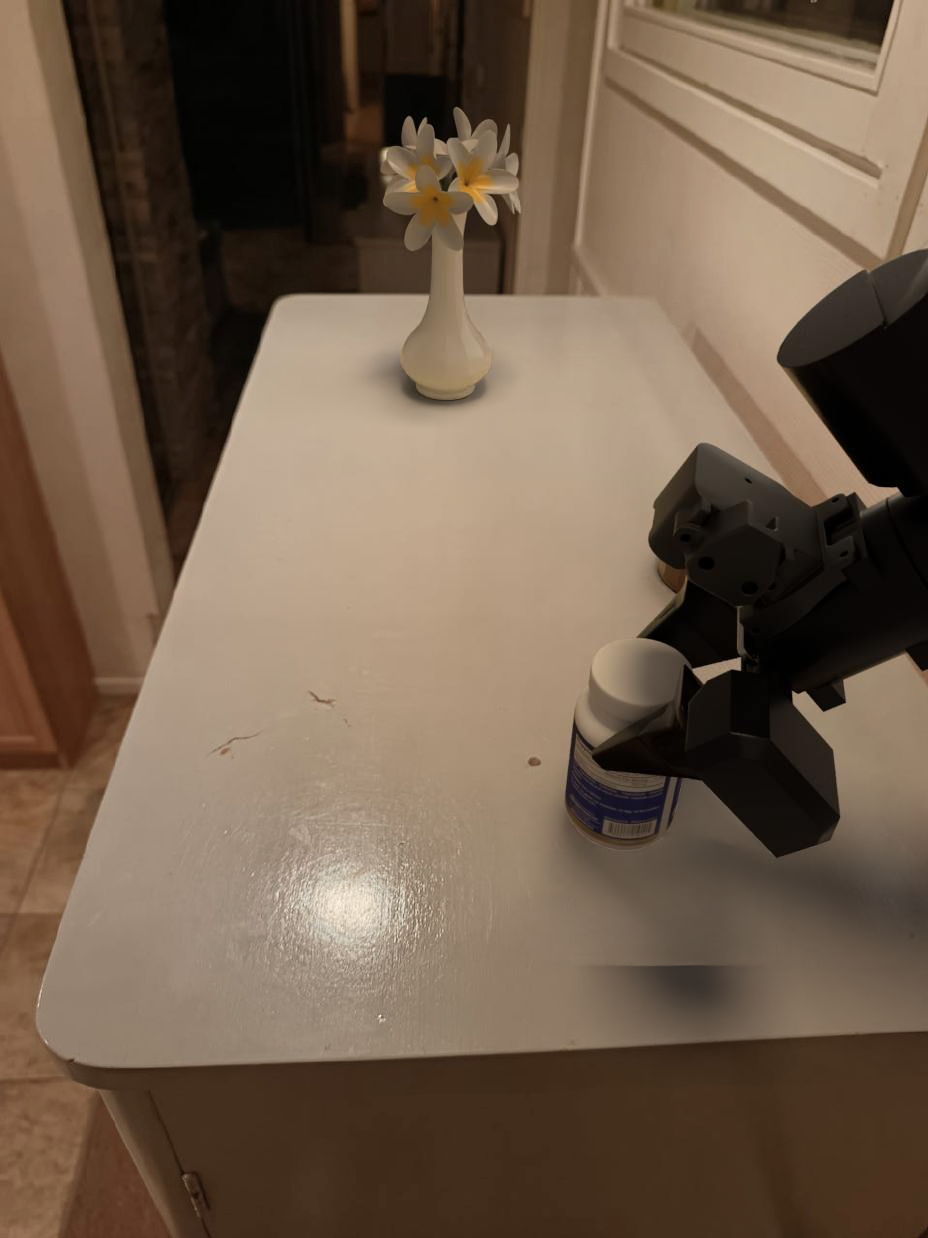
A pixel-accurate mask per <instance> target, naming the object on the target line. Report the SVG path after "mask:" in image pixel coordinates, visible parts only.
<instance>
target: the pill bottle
mask: <svg viewBox="0 0 928 1238" xmlns="http://www.w3.org/2000/svg"><path fill="white" fill-rule="evenodd" d="M683 664H686V665H687V666H688V667H689V668H690V670H691V671H692V672H693V673H694V669H692V667H691V665H690V663H689V662H688V660H687V659H686V658H685V657H684V656H683V655H682V654H681V653H680V652H678V651H677V650H676V649H674V648H672V647H671V646H669V645H667V644H664V643H662V642H659V641H655V640H650V639H645V638H636V637H628V638H620V639H617V640H614V641H611V642H609V643H607V644H605V645H603V646H602V647H601V648H600V649H599V650H597V652H596V653H595V654H594V656H593V658H592V660H591V664H590V668H589V678H588V684H586V686H585V687H584V688H583V689H582V691H581V692H580V694H579V695H578V697H577V700H576V703H575V706H574V709H573V719H572V728H571V730H572V731H571V739H570V748H569V755H568V765H567V772H566V773H567V774H566V782H565V792H564V807H565V811H566V814H567V816H568V819H569V821H570V822H571V824H572V825H573V826H574V828H576V831H578V833H580V834H581V835H582V836H584V837H585V839H587V840H589V841H590V842H592V843H594V844H597V845H598V846H600V847H604V848H607V849H611V850H616V851H635V850H640V849H641V850H642V849H644V848H646V847H649V846H652V845H653V844H655V843H657V842H658V841H660V840H661V839H662V838H663V837H664V836H665V835H666V834H667V833H668V831H669V830H670V828H671V826H672V824H673V822H674V818H675V815H676V811H677V807H678V802H679V798H680V793H681V789H682V784H683V781H684V778H677V777H667V776H656V775H646V774H636V773H626V772H616V771H607V770H604V769H602V768H601V767H600V766H599V765H598V764H597V763H596V762H595V761H594V760H593V759H592V757H591V756H592V751H593V749H595V748H596V747H597V746H599V745H600V744H602V743H603V742H604V741H606V740H607V739H609V738H610V737H612V736H613V735H615V734H616V733H618V732H620V731H622V730H623V729H625V728H627V727H628V726H630V725H632V724H634V723H635V722H637V721H639V720H640V719H642V718H644V717H645V716H647V715H649V714H651V713H652V712H654V711H656V710H657V709H659V708H661V707H663V706H664V705H666V704H668V703H669V702H671V701H672V700H673V698H674V695H675V691H676V687H677V682H678V678H679V674H680V670H681V667H682V665H683Z"/></svg>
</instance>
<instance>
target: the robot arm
mask: <svg viewBox="0 0 928 1238" xmlns="http://www.w3.org/2000/svg"><path fill="white" fill-rule="evenodd" d="M776 362H777V364H778V365H779V366H780V368H781V370H783V372H784V373H785V374H786V376H787V377H788V378H789V380H790V381H791V382H792V384H793V385H794V387H795V388H796V389H797V390H798V392H799V393H800V394H801V397H803V398H804V400H805V401H806V402H807V404H808V405H809V406H810V408H811V409H812V411H813V412H814V413H815V414H816V416H817V417H818V419H819V420H820V421H821V423H822V424H823V426H824V427H825V429H827V431H828V432H829V433H830V435H831V436H832V438H833V439H834V440H835V442H836V443H837V444H838V445H839V447H840V448H841V450H842V451H843V453H844V454H845V455H846V456H847V458H848V459H849V460H850V462H851V463H852V464H853V465H854V467H855V468H856V470H857V471H858V473H859V474H860V476H862V478H863V479H864V480H865V481H866V482H867V483H868V484H869V485H872V486H874V487H877V488H886V489H887V488H888V489H891V488H892V489H895V488H897V490H898V491H896V492H895V493H893V494H891V495H889V496H888V497H887V496H886V497H885V498H883V499H882V500H881V499H880V500H879V501H878V502H876V503H874V504H872V505H870V506H868V507H867V505H866V504H865V503H864V502H863V500H862V499H861V497H860V496H859V495H858V493H857V492H856V491H853V492H851V493H850V494H848V495H846V494H845V493H843V492H841V493H837V494H835V495H833V496H830V497H829V498H827V499H825V500H824V501H822V502H820V503H817V504H815V505H809V504H808V503H806V502H805V501H803V500H802V499H800V498H799V497H797V496H796V495H794V494H793V493H792V492H791V491H790V490H788V489H787V488H786V487H785V486H784V485H783V484H781V483H779V482H778V481H776V480H774V479H773V478H771V477H769V476H768V475H766V474H765V473H763V472H761V471H759V470H757V469H756V468H754V467H752V466H751V465H749V464H747V463H745V462H744V461H742V460H740V459H739V458H737V457H735V456H734V455H732V454H730V453H729V452H727V451H725V450H724V449H722V448H720V447H718V446H717V445H714V444H712V443H709V442H700V443H698V444H697V445H696V446H695V448H694V449H693V450H692V451H691V452H690V453H689V455H688V456H687V458H686V459H685V461H684V462H682V464H681V465H680V467H679V468H678V469H677V471H676V472H675V474H674V475H673V476H672V477H671V479H670V480H669V481H668V482H667V484H666V485H665V487H664V488H663V489H662V491H660V493H659V494H658V496H657V497H656V498H655V499H654V501H653V504H652V508H653V510H654V512H653V513H654V514H653V519H652V525H651V528H650V530H649V531H648V537H647V542H648V546H649V549H650V550H651V551H652V553H653V555H655V556H656V558H658V559H660V560H661V561H662V562H664V563H665V564H667V565H669V566H670V567H672V568H674V569H676V570H679V569H684V570H685V571H686V578H685V583H684V585H683V587H682V589H681V590H680V591H679V592H678V593H676V595H675V596H674V597H673V598H672V599H671V600H670V601H669V602H668V603H667V604H666V606H665V607H664V608H663V609H662V610H661V611H660V612H659V613H658V614H657V615H656V616H655V617H654V618H653V620H651V621H650V622H649V623H648V625H646V626H645V627H644V629H643V630H641V632H640V633H638V635H637V636H636V637H635V638H645V639H650V640H655V641H659V642H662V643H664V644H667V645H669V646H671V647H672V648H674V649H676V650H677V651H678V652H680V653H681V654H682V655H683V656H684V657H685V658H686V659H687V660H688V662H689V663H690V665H691V667H692V670H694V669H698V668H703V667H707V666H710V665H715V664H719V663H723V662H727V661H728V662H729V661H732V660H737V659H739V658H740V670H739V669H733V668H731V669H729V670H727V671H725V672H723V673H720V674H718V675H716V676H713V677H712V678H710V679H708V680H706V681H705V682H704V683H703V681H702V680H701V679H700V678H699V677H698V676H697V675H696V674H695V672H694V671H693V672H692V671H691V670H690V668H689V667H688V666H687V665H686V664H683V665H682V667H681V670H680V674H679V678H678V682H677V687H676V691H675V695H674V698H673V700H672V701H671V702H669V703H668V704H666V705H664V706H663V707H661V708H659V709H657V710H656V711H654V712H652V713H651V714H649V715H647V716H645V717H644V718H642V719H640V720H639V721H637V722H635V723H634V724H632V725H630V726H628V727H627V728H625V729H623V730H622V731H620V732H618V733H616V734H615V735H613V736H612V737H610V738H609V739H607V740H606V741H604V742H603V743H602V744H600V745H599V746H597V747H596V748H595V749H593V751H592V756H591V757H592V759H593V760H594V761H595V762H596V763H597V764H598V765H599V766H600V767H601V768H602V769H604V770H607V771H616V772H626V773H636V774H646V775H656V776H667V777H677V778H683V779H686V780H694V781H700V782H702V783H703V784H704V785H705V786H706V788H708V789H709V790H710V792H711V793H713V795H714V796H715V797H716V798H717V799H718V800H719V801H720V802H721V803H722V804H723V805H724V806H725V807H726V808H727V809H728V810H729V811H730V812H731V813H732V814H733V815H734V816H735V817H736V818H737V819H738V820H739V822H740V823H742V824H743V826H744V827H746V829H747V830H748V831H749V832H750V833H751V834H752V835H753V836H754V837H755V838H756V839H757V840H758V841H759V842H760V843H761V844H762V845H763V846H764V847H765V849H767V850H768V851H769V852H770V853H771V855H773V857H774V858H775V859H780V858H782V857H785V856H788V855H792V854H794V853H799V852H801V851H803V850H804V851H805V850H808V849H811V848H814V847H816V846H819V845H822V844H825V843H827V842H830V841H832V838H833V835H834V834H835V831H836V829H837V828H838V827H837V826H838V824H839V821H840V819H841V810H840V809H841V808H840V800H839V790H838V782H837V781H838V780H837V772H836V763H835V753H834V748H832V747H831V745H830V744H829V743H828V742H827V740H825V738H824V737H823V736H822V735H821V733H819V732H818V730H817V729H816V728H815V727H814V726H813V725H812V724H811V723H810V722H809V720H808V719H807V718H806V717H805V716H804V715H803V713H802V712H801V711H800V710H799V709H798V708H797V707H796V706H795V704H794V699H793V693H795V694H797V695H800V694H803V693H806V694H807V695H808V697H810V699H811V700H812V701H813V702H814V703H815V705H816V706H817V707H818V708H819V709H820V710H821V712H822V713H825V712H828V711H831V710H832V709H835V708H837V707H840V706H842V705H845V704H847V698H846V691H845V682H844V680H847V679H849V678H852V677H854V676H856V675H858V674H861V673H863V672H865V671H868V670H870V669H872V668H875V667H878V666H879V665H882V664H884V663H887V662H889V661H892V660H893V659H895V658H898V657H900V656H903V655H905V654H907V655H908V656H909V657H910V658H911V659H912V661H913V663H915V664H916V666H917V667H918V669H919V670H920V671H921V672H925V671H928V247H925V248H919V249H916V250H913V251H910V252H906V253H905V254H902V255H899V256H897V257H895V258H893V259H890V260H889V261H887V262H884V263H882V264H881V265H879V266H877V267H876V268H873V269H872V270H870V271H869V270H868V269H867V268H864V269H861V270H860V271H858V272H856V273H855V274H854V275H852V276H851V277H849V278H848V279H846V280H845V281H843V282H842V283H840V285H838V286H837V287H835V288H833V290H831V291H830V292H828V293H827V294H826V295H825V296H823V298H821V299H820V300H819V301H818V302H817V303H816V304H815V305H814V306H812V307H811V308H810V309H809V310H808V311H807V312H806V313H805V314H804V315H803V316H802V317H801V318H800V319H799V320H798V321H797V322H796V323H795V325H794V326H793V327H792V328H791V329H790V331H789V332H788V333H787V334H786V336H785V337H784V339H783V341H782V343H780V346H779V348H778V351H777V354H776Z"/></svg>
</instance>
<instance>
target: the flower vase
mask: <svg viewBox="0 0 928 1238" xmlns="http://www.w3.org/2000/svg"><path fill="white" fill-rule="evenodd" d="M453 119H454V123H455V127H456V132H457V137H450V138H448V140H447V141H446V143H445V142H444V141H443V140H440V139H437V138H436V137H435V130H434V127H433V126H432V124H428V118H427V117H424V118H422V120H421V123H420V124H419V127H418V130H416V126H415V122H414V120H413V118H412V116H410V115H408V116H407V117H406V118H405V119H404V122H403V124H402V130H401V145H402V146H399V145H393V146H390V147H389V148H388V149H387V151H386V153H385V159H384V160H383V162H382V164H381V165H380V173H382V174H383V175H391V174H393V175H394V174H395V175H394V176H393V177H392V178H391V179H390V181H389V182H388V184H387V186H386V189H385V191H384V195H383V196H384V197H383V198H382V199H383V200H382V203H383V206H384V207H387V208H388V209H389V210H391V211H392V212H394V213H396V214H399V215H403V216H411V215H413V216H412V218H411V220H410V221H409V223H408V225H407V227H406V229H405V233H404V246H405V248H406V249H407V250H409V251H411V252H414V251H415V252H416V251H418V250H420V249H421V248H423V247H424V246H425V245H426V243H427V242H428V241H429V239H430V238H431V262H430V263H431V265H430V285H429V295H428V302H427V305H426V309H425V312H424V314H423V317H422V319H421V321H420V322H419V324H417V326H416V327H415V328H414V329H413V330H412V331H410V333H409V334H408V335H407V337H406V338H405V340H404V343H403V344H402V347H401V349H400V355H399V359H400V360H399V361H400V364H401V367H402V369H403V371H404V372H405V374H407V376H408V377H409V378H410V379H411V380H412V381H413V382H414V383H415V387H416V390H417V392H419V394H421V395H422V396H425V397H427V398H429V399H433V400H438V401H439V400H440V401H453V400H454V401H455V400H459V399H460V400H461V399H463V398H466V397H468V396H470V395H472V393H474V391H475V388H476V384H477V383H478V382H480V381H481V380H482V379H483V378H484V376H485V375H486V374H487V373H488V372H489V369H490V367H491V364H492V352H491V349H490V346H489V344H488V342H487V340H486V339H485V337H484V335H483V334H482V333H481V332H480V331H479V330H478V329H477V328H476V327H475V326H474V324H473V322H472V321H471V318H470V316H469V313H468V309H467V306H466V301H465V300H466V299H465V292H464V291H465V290H464V245H465V242H464V235H465V227H466V221H467V215H468V212H469V211H470V210H471V209H472V208H473V207H475V209H476V210H477V212H478V214H479V216H480V217H481V218H482V220H483V221H484V223H486V224H487V225H489V226H495V225H496V224H497V222H498V219H499V217H498V216H499V215H498V214H499V212H498V208H497V205H496V202H495V199H494V198H493V197H492V196H491V195H500V196H501V197H502V198H503V200H504V202H505V203H506V204H507V206H508V207H509V210H510V211H511V213H512V214H513V215H515V210H516V211H517V212H518V213H519V214H521V213H522V206H521V201H520V197H519V194H518V192H517V190H518V189H519V187H520V181H519V178H518V177H517V174H518V173H519V172H518V171H519V157H518V154H517V153H516V152H512V153H510V154H509V155H508V153H509V149H510V144H511V142H510V141H511V125H510V123H508V124H507V126H506V129H505V133H504V136H503V139H502V141H501V144H500V147H499V149H498V139H497V138H498V126H497V123H496V122H495V121H494V120H493V119H485V120H483V121H481V122H480V123H479V124H478V125H477V127H476V128H475V130H474V131H473V133H472V125H471V123H470V121H469V118H468V116H467V115H466V114H465V112H464V111H463V110H462V109H461V108H460V107H457V106H455V107H454V108H453ZM507 155H508V156H507ZM454 173H456V175H457V176H456V177H455V178H454V179H453V174H454ZM452 179H453V180H452Z"/></svg>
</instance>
